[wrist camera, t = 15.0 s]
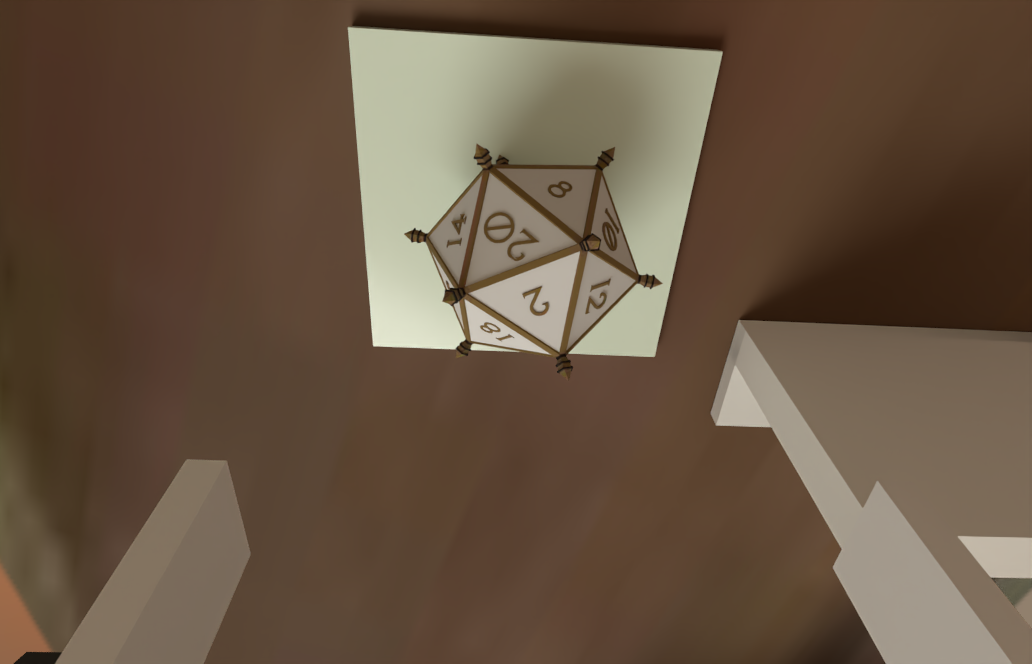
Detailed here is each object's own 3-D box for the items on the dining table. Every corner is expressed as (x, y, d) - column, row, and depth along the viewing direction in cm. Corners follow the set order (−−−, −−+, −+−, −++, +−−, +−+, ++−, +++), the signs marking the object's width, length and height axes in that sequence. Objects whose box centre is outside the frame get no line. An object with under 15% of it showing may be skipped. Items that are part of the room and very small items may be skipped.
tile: (651, 350, 30) (654, 356, 30) (375, 339, 30) (373, 346, 29) (717, 49, 23) (722, 51, 23) (351, 25, 22) (347, 27, 22)
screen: (988, 422, 34) (1226, 649, 23) (710, 413, 33) (816, 643, 22) (1045, 332, 30) (1355, 545, 19) (738, 319, 30) (879, 534, 19)
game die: (485, 202, 29) (317, 257, 22) (602, 73, 23) (426, 91, 16) (590, 351, 29) (454, 458, 22) (736, 258, 23) (617, 363, 16)
